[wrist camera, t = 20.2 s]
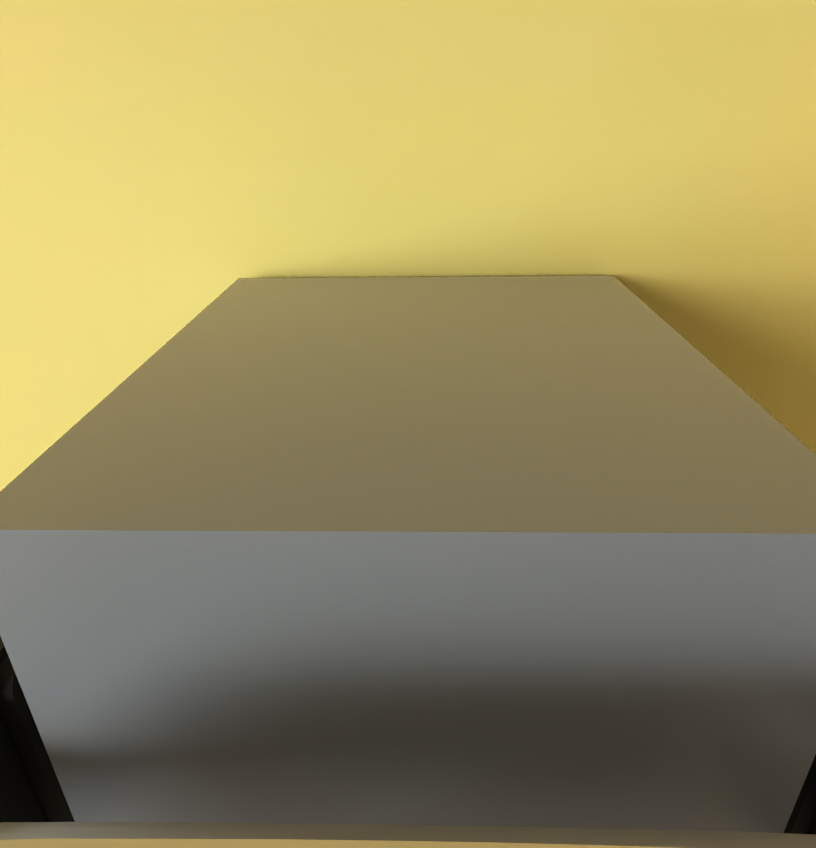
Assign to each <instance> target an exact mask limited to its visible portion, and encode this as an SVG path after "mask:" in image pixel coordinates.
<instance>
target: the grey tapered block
mask: <svg viewBox="0 0 816 848" xmlns="http://www.w3.org/2000/svg"><path fill="white" fill-rule="evenodd" d="M0 636H1V639H2V641H3V644H4V646H5V649H6V651H7V654H8V656H9V659H10V661H11V664H12V666H13V669H14V671H15V674H16V676H17V679H18V681H19V684H20V686H21V689H22V691H23V694H24V696H25V699H26V701H27V703H28V706H29V708H30V711H31V713H32V716H33V718H34V721H35V723H36V726H37V728H38V731H39V733H40V736H41V738H42V741H43V743H44V746H45V748H46V751H47V753H48V756H49V758H50V761H51V763H52V766H53V768H54V771H55V773H56V776H57V778H58V781H59V783H60V786H61V788H62V791H63V793H64V796H65V798H66V801H67V803H68V806H69V808H70V811H71V813H72V816H73V818H74V821H75V822H113V821H129V822H229V823H321V824H389V825H452V826H512V827H564V828H610V829H657V830H703V831H739V832H764V833H784V830H785V828H786V825H787V823H788V820H789V818H790V816H791V813H792V811H793V808H794V806H795V803H796V801H797V799H798V796H799V794H800V791H801V789H802V786H803V784H804V781H805V779H806V777H807V774H808V772H809V769H810V767H811V764H812V762H813V760H814V757H815V755H816V454H815V453H814V452H812V451H811V450H810V449H809V448H808V447H807V446H806V445H805V444H803V443H802V442H801V441H800V440H799V439H798V438H797V437H795V436H794V435H793V434H792V433H791V432H790V431H789V430H788V429H786V428H785V427H784V426H783V425H782V424H781V423H780V422H779V421H777V420H776V419H775V418H774V417H773V416H772V415H771V414H769V413H768V412H767V411H766V410H765V409H764V408H763V407H762V406H760V405H759V404H758V403H757V402H756V401H755V400H754V399H752V398H751V397H750V396H749V395H748V394H747V393H746V392H745V391H743V390H742V389H741V388H740V387H739V386H738V385H737V384H736V383H734V382H733V381H732V380H731V379H730V378H729V377H728V376H726V375H725V374H724V373H723V372H722V371H721V370H720V369H719V368H717V367H716V366H715V365H714V364H713V363H712V362H711V361H710V360H708V359H707V358H706V357H705V356H704V355H703V354H702V353H700V352H699V351H698V350H697V349H696V348H695V347H694V346H693V345H691V344H690V343H689V342H688V341H687V340H686V339H685V338H684V337H682V336H681V335H680V334H679V333H678V332H677V331H676V330H674V329H673V328H672V327H671V326H670V325H669V324H668V323H667V322H665V321H664V320H663V319H662V318H661V317H660V316H659V315H657V314H656V313H655V312H654V311H653V310H652V309H651V308H650V307H648V306H647V305H646V304H645V303H644V302H643V301H642V300H641V299H639V298H638V297H637V296H636V295H635V294H634V293H633V292H631V291H630V290H629V289H628V288H627V287H626V286H625V285H624V284H622V283H621V282H620V281H619V280H618V279H617V278H616V277H615V276H613V275H604V276H465V277H325V278H239V279H238V280H236V281H235V282H234V283H233V284H232V285H231V286H230V287H229V288H228V289H226V290H225V291H224V292H223V293H222V294H221V295H220V296H219V297H217V298H216V299H215V300H214V301H213V302H212V303H211V304H210V305H209V306H207V307H206V308H205V309H204V310H203V311H202V312H201V313H200V314H198V315H197V316H196V317H195V318H194V319H193V320H192V321H191V322H190V323H188V324H187V325H186V326H185V327H184V328H183V329H182V330H181V331H179V332H178V333H177V334H176V335H175V336H174V337H173V338H172V339H171V340H169V341H168V342H167V343H166V344H165V345H164V346H163V347H162V348H160V349H159V350H158V351H157V352H156V353H155V354H154V355H153V356H151V357H150V358H149V359H148V360H147V361H146V362H145V363H144V364H143V365H141V366H140V367H139V368H138V369H137V370H136V371H135V372H134V373H132V374H131V375H130V376H129V377H128V378H127V379H126V380H125V381H124V382H122V383H121V384H120V385H119V386H118V387H117V388H116V389H115V390H113V391H112V392H111V393H110V394H109V395H108V396H107V397H106V398H105V399H103V400H102V401H101V402H100V403H99V404H98V405H97V406H96V407H94V408H93V409H92V410H91V411H90V412H89V413H88V414H87V415H86V416H84V417H83V418H82V419H81V420H80V421H79V422H78V423H77V424H75V425H74V426H73V427H72V428H71V429H70V430H69V431H68V432H67V433H65V434H64V435H63V436H62V437H61V438H60V439H59V440H58V441H56V442H55V443H54V444H53V445H52V446H51V447H50V448H49V449H48V450H46V451H45V452H44V453H43V454H42V455H41V456H40V457H39V458H37V459H36V460H35V461H34V462H33V463H32V464H31V465H30V466H29V467H27V468H26V469H25V470H24V471H23V472H22V473H21V474H20V475H18V476H17V477H16V478H15V479H14V480H13V481H12V482H11V483H9V484H8V485H7V486H6V487H5V488H4V489H3V490H2V491H1V492H0Z"/></svg>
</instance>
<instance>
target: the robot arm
mask: <svg viewBox="0 0 816 848" xmlns="http://www.w3.org/2000/svg"><path fill="white" fill-rule="evenodd" d="M0 848H816V755H815V757H814V760H813V762H812V764H811V767H810V769H809V772H808V774H807V777H806V779H805V781H804V784H803V786H802V789H801V791H800V794H799V796H798V799H797V801H796V803H795V806H794V808H793V811H792V813H791V816H790V818H789V820H788V823H787V825H786V828H785V830H784V833H764V832H739V831H703V830H657V829H610V828H564V827H512V826H452V825H389V824H321V823H229V822H129V821H113V822H75V821H74V818H73V816H72V813H71V811H70V808H69V806H68V803H67V801H66V798H65V796H64V793H63V791H62V788H61V786H60V783H59V781H58V778H57V776H56V773H55V771H54V768H53V766H52V763H51V761H50V758H49V756H48V753H47V751H46V748H45V746H44V743H43V741H42V738H41V736H40V733H39V731H38V728H37V726H36V723H35V721H34V718H33V716H32V713H31V711H30V708H29V706H28V703H27V701H26V699H25V696H24V694H23V691H22V689H21V686H20V684H19V681H18V679H17V676H16V674H15V671H14V669H13V666H12V664H11V661H10V659H9V656H8V654H7V651H6V649H5V646H4V644H3V641H2V639H1V636H0Z"/></svg>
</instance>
